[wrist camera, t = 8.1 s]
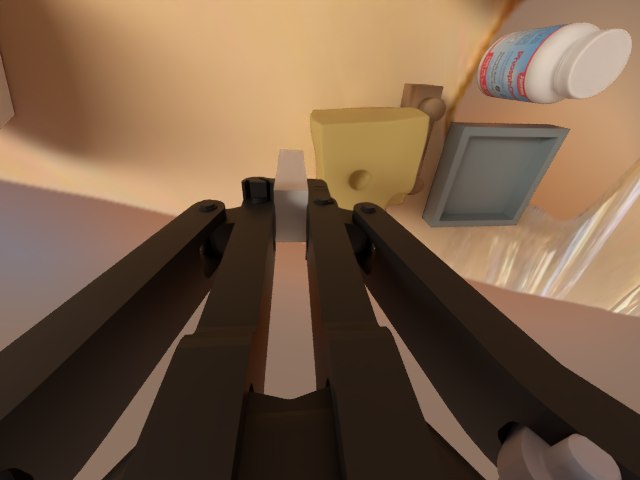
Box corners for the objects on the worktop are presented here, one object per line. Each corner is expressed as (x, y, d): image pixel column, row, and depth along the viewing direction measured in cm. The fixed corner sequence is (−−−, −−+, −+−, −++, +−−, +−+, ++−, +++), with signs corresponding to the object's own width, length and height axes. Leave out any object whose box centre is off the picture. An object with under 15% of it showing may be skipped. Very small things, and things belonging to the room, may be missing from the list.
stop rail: (404, 83, 29) (430, 86, 23) (424, 84, 29) (453, 87, 24) (385, 181, 36) (402, 201, 30) (401, 181, 36) (420, 201, 31)
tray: (451, 122, 32) (464, 126, 29) (549, 124, 33) (570, 128, 31) (422, 217, 40) (430, 227, 37) (502, 215, 41) (515, 225, 39)
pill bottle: (468, 59, 28) (555, 54, 19) (523, 18, 26) (648, -9, 17) (481, 107, 31) (561, 124, 22) (531, 73, 29) (640, 76, 20)
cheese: (385, 183, 36) (413, 216, 28) (311, 187, 35) (317, 223, 27) (395, 101, 30) (435, 113, 22) (307, 105, 29) (313, 119, 21)
